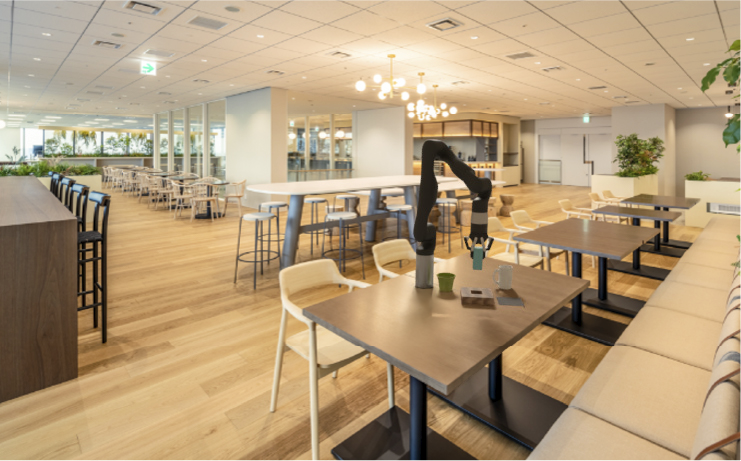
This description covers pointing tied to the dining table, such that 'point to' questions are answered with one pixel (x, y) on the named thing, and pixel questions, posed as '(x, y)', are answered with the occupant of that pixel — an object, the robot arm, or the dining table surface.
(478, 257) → the peg
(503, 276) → the mug
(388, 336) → the dining table surface
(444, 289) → the plant pot
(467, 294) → the pocket block
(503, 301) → the mat
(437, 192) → the robot arm
